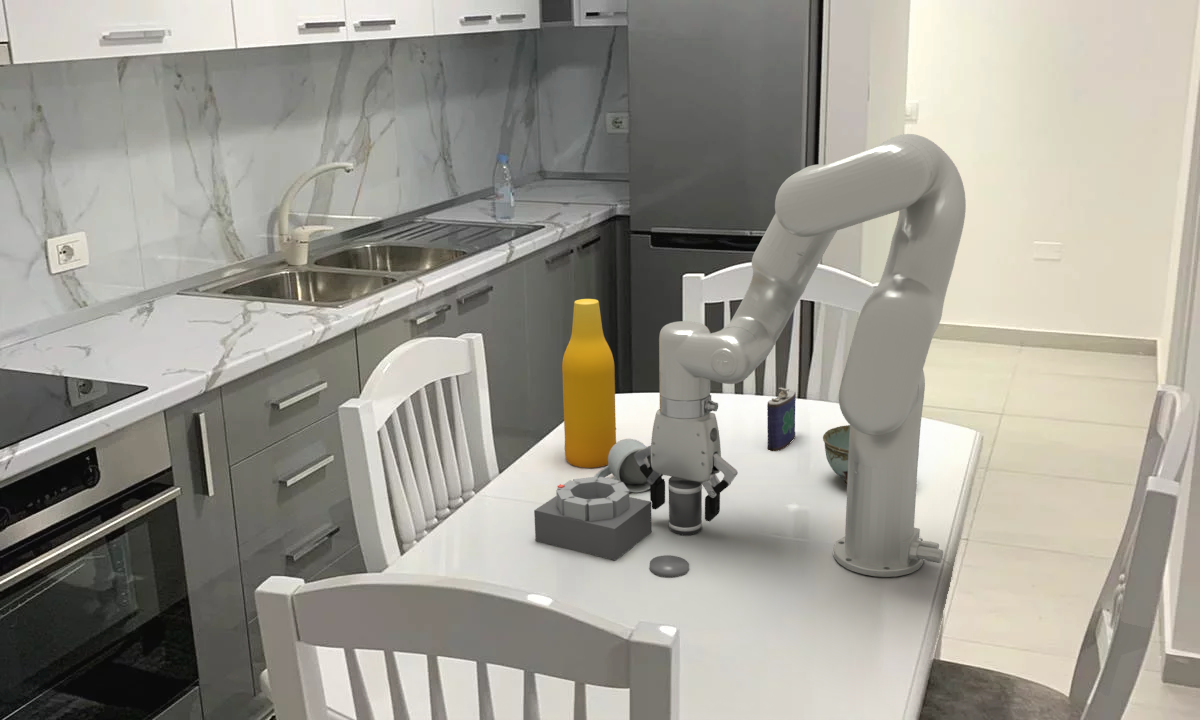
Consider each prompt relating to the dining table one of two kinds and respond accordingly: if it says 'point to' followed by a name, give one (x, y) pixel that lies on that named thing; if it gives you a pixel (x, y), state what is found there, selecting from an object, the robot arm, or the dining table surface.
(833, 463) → the bowl
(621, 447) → the ceramic mug
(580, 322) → the beer bottle
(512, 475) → the dining table surface
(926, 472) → the dining table surface
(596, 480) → the camera body
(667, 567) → the lens cap
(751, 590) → the dining table surface
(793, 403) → the flask
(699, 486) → the lens
